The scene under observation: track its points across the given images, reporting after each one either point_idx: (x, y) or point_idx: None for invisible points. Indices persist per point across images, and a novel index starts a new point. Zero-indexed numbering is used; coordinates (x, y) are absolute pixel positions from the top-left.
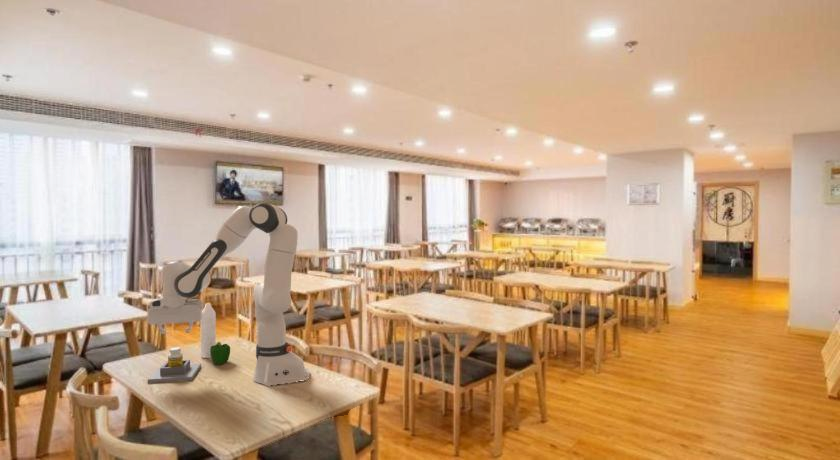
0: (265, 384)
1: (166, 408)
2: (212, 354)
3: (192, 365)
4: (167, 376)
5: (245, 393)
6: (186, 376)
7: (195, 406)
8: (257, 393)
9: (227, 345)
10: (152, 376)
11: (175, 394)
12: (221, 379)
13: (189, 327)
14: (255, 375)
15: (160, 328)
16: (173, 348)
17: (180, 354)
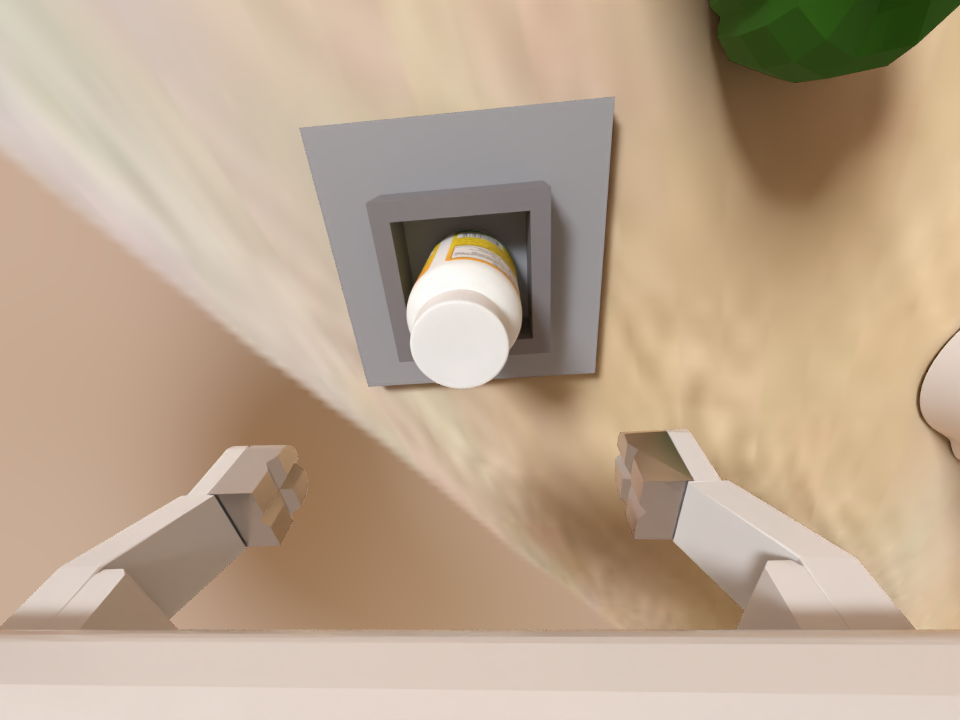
0: (956, 453)
1: (558, 573)
2: (756, 51)
3: (554, 149)
4: None
5: (836, 506)
6: (565, 364)
7: (649, 570)
8: (883, 510)
9: None
10: (370, 348)
11: (555, 492)
12: (750, 359)
13: (715, 563)
14: (956, 416)
15: (201, 585)
16: (440, 340)
17: (514, 339)
